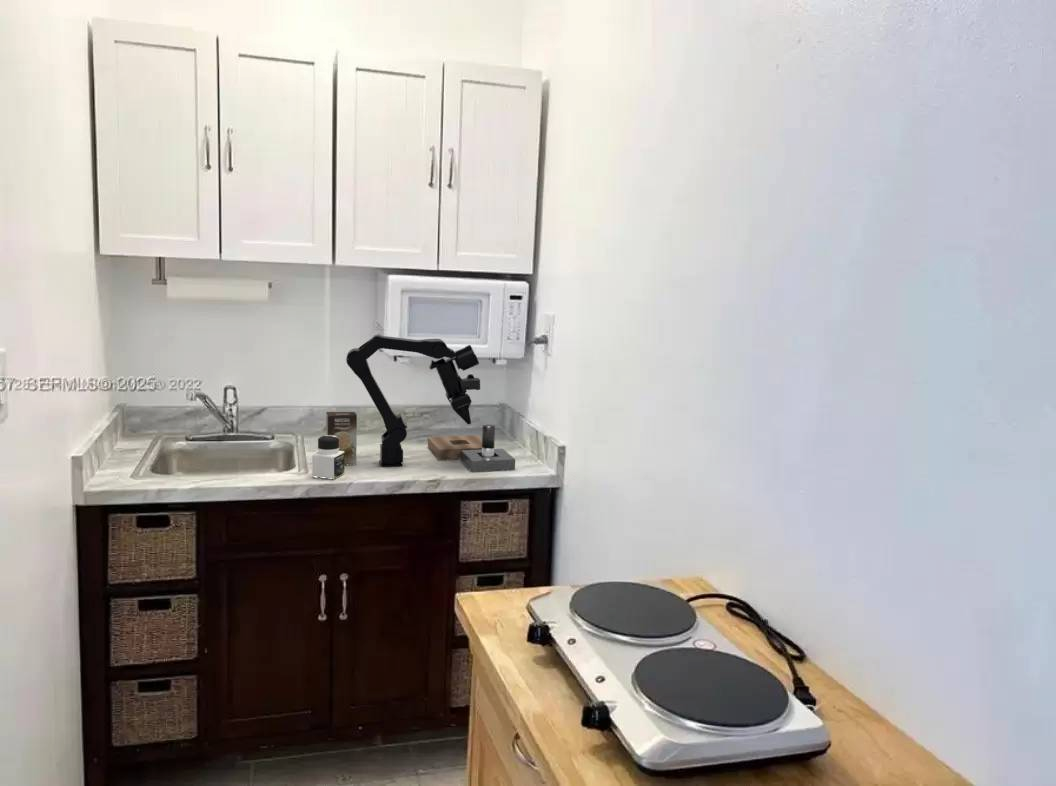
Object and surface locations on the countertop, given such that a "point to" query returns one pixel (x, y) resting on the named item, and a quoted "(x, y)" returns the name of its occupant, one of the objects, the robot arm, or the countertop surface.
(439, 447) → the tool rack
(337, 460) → the medicine bottle
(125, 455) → the countertop surface
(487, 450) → the dark rounded cylinder
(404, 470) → the countertop surface
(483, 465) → the socket block
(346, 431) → the coffee box
